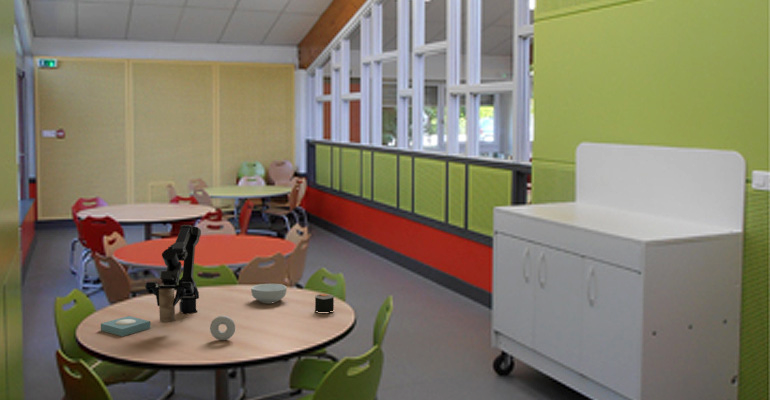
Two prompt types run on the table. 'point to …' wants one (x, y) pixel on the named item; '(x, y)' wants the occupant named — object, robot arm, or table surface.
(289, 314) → the table surface
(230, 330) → the donut
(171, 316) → the walnut post
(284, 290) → the cereal bowl
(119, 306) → the table surface
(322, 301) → the sushi
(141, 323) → the plinth
